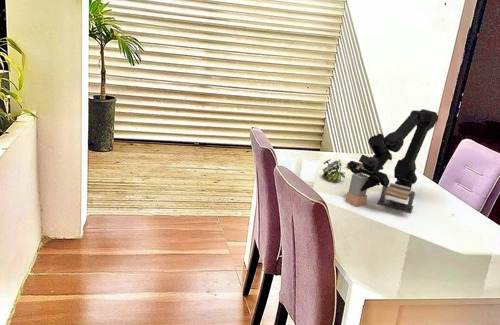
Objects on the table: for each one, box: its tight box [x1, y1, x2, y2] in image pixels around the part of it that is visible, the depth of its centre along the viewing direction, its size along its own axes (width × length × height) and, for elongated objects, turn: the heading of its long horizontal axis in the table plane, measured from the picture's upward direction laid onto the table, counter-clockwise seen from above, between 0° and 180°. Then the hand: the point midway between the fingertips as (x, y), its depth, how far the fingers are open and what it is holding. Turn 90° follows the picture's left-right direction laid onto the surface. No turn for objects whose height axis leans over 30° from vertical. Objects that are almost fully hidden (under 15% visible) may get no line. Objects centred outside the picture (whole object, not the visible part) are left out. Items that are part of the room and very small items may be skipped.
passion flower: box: [321, 158, 346, 183], centre depth 220 cm, size 11×11×12 cm
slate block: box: [348, 173, 369, 197], centre depth 192 cm, size 5×5×8 cm
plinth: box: [344, 191, 368, 207], centre depth 194 cm, size 6×6×4 cm
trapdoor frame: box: [376, 185, 416, 214], centre depth 195 cm, size 7×14×8 cm, turn 65°
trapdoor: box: [384, 182, 411, 201], centre depth 191 cm, size 13×9×2 cm
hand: (356, 188), depth 192 cm, fingers closed on slate block, 5 cm apart
